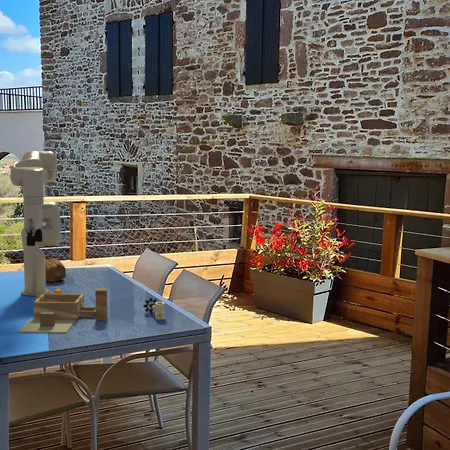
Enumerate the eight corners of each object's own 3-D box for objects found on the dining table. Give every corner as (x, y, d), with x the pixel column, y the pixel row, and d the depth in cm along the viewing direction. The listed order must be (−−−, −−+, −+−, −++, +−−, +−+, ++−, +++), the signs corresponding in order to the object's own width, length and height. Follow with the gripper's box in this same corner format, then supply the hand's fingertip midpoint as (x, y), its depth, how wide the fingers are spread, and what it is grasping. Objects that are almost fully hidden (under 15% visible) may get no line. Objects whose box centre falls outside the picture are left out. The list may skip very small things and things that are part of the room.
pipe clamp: (54, 303, 268) (54, 288, 267) (62, 304, 266) (61, 289, 265) (34, 309, 257) (33, 294, 256) (41, 310, 255) (41, 295, 254)
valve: (169, 319, 246) (157, 311, 257) (169, 303, 245) (157, 296, 256) (154, 321, 243) (143, 313, 254) (154, 305, 242) (143, 298, 253)
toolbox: (43, 309, 256) (43, 293, 255) (99, 310, 257) (99, 294, 256) (34, 319, 242) (33, 302, 241) (93, 320, 243) (93, 303, 242)
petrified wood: (70, 280, 308) (65, 262, 305) (44, 288, 302) (39, 269, 299) (61, 272, 324) (57, 254, 322) (37, 279, 319) (32, 261, 316)
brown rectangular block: (97, 317, 247) (97, 288, 245) (107, 317, 247) (107, 288, 245) (95, 320, 243) (95, 290, 241) (105, 320, 243) (105, 290, 241)
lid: (30, 322, 241) (29, 307, 240) (75, 322, 241) (75, 307, 240) (17, 334, 226) (17, 318, 225) (66, 335, 226) (66, 319, 225)
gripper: (30, 198, 246) (31, 240, 249) (16, 202, 229) (18, 247, 231) (49, 198, 246) (50, 240, 249) (37, 202, 229) (38, 247, 232)
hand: (34, 243), depth 240 cm, fingers open, 9 cm apart
